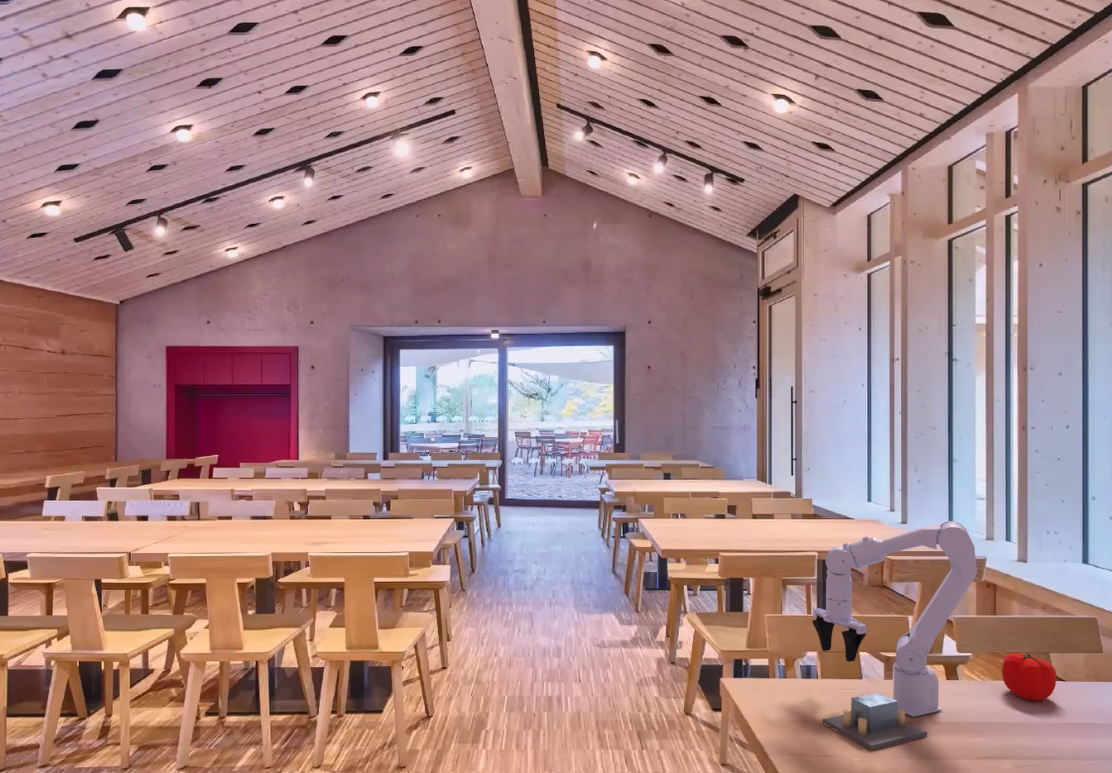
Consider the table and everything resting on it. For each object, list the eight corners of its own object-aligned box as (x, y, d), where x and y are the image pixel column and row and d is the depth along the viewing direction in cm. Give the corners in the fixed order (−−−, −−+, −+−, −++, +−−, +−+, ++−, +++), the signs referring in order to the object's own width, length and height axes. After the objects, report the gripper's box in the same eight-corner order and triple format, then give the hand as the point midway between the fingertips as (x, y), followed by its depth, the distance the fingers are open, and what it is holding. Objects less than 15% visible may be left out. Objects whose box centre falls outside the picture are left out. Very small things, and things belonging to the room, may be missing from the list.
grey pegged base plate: (876, 711, 165) (876, 694, 165) (927, 736, 153) (927, 717, 153) (822, 723, 158) (823, 705, 158) (871, 750, 146) (871, 730, 146)
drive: (878, 717, 159) (878, 692, 160) (897, 727, 155) (897, 701, 155) (851, 723, 156) (851, 697, 156) (869, 733, 152) (870, 707, 152)
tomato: (1004, 700, 172) (1004, 657, 172) (999, 682, 184) (999, 641, 184) (1061, 711, 167) (1061, 665, 167) (1052, 691, 178) (1053, 649, 179)
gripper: (804, 592, 179) (803, 647, 179) (850, 608, 166) (849, 668, 166) (825, 589, 182) (825, 644, 182) (872, 605, 169) (872, 663, 169)
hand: (838, 655), depth 174 cm, fingers open, 7 cm apart
